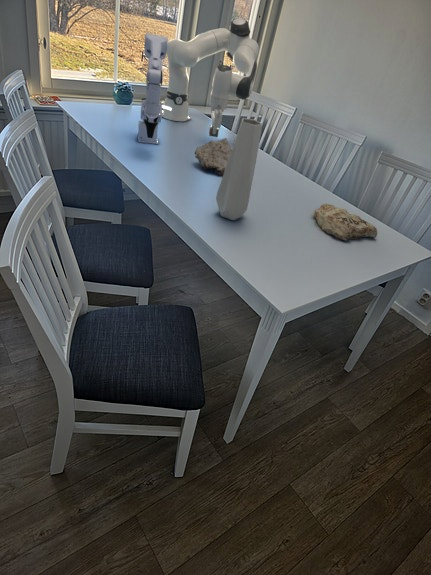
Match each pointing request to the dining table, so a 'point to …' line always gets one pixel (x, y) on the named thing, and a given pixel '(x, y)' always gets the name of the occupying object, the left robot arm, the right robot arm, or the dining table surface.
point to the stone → (343, 223)
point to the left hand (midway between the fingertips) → (150, 134)
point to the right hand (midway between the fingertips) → (213, 131)
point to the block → (212, 133)
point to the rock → (214, 155)
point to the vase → (239, 171)
